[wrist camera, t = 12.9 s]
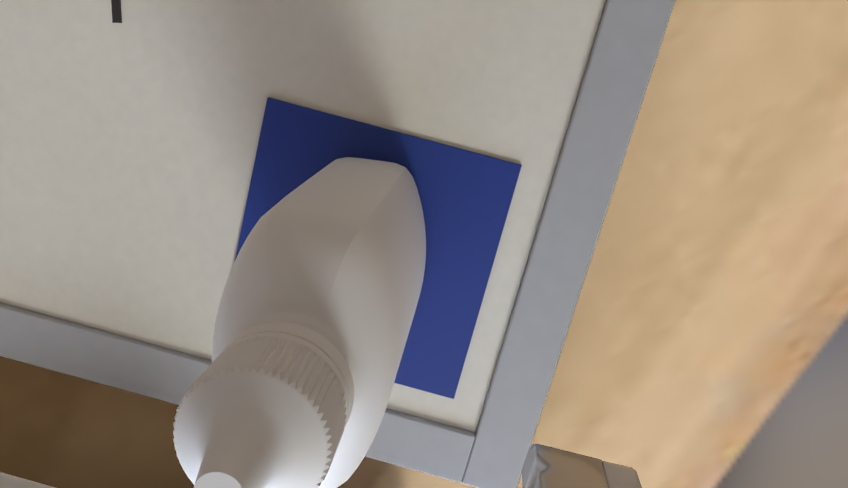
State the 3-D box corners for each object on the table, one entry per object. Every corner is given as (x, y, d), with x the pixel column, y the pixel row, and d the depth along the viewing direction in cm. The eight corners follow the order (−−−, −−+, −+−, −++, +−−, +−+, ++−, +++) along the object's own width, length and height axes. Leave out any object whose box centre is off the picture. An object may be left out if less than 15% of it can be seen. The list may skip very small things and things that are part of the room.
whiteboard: (-43, -428, 20) (-79, -461, 18) (739, -228, 19) (756, -247, 18) (-103, 306, 25) (-135, 319, 24) (512, 475, 24) (513, 498, 23)
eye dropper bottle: (246, 288, 22) (-20, 551, 11) (356, 127, 21) (187, 228, 9) (372, 376, 23) (245, 721, 11) (488, 222, 21) (483, 434, 10)
